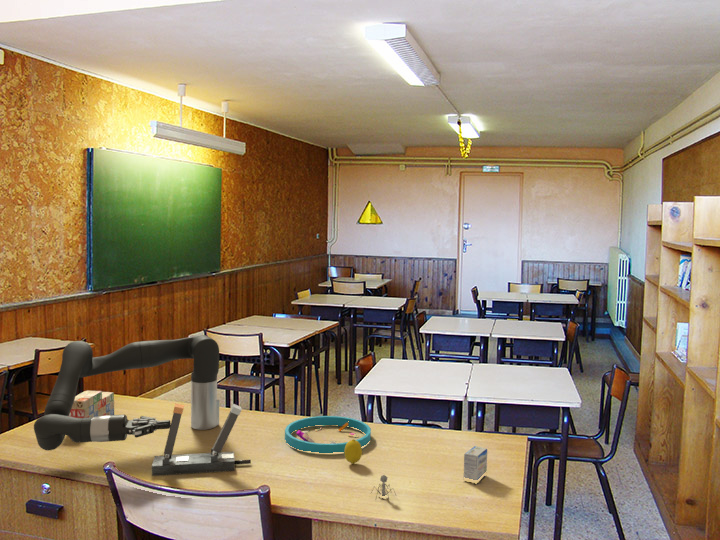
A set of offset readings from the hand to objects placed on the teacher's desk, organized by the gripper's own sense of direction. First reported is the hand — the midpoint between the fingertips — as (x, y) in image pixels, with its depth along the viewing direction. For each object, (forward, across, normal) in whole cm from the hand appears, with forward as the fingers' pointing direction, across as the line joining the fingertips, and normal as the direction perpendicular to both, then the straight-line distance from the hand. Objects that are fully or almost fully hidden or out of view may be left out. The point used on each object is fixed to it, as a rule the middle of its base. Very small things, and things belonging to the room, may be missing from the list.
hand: (170, 424), depth 189 cm
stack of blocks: (-32, -47, -14) cm, 59 cm away
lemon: (+55, +2, -16) cm, 58 cm away
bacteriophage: (+59, +27, -16) cm, 67 cm away
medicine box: (+90, +19, -17) cm, 93 cm away
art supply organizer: (+51, -21, -16) cm, 57 cm away
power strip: (+9, -1, -15) cm, 17 cm away
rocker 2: (+13, -1, -11) cm, 17 cm away
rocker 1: (-1, -1, -10) cm, 11 cm away
